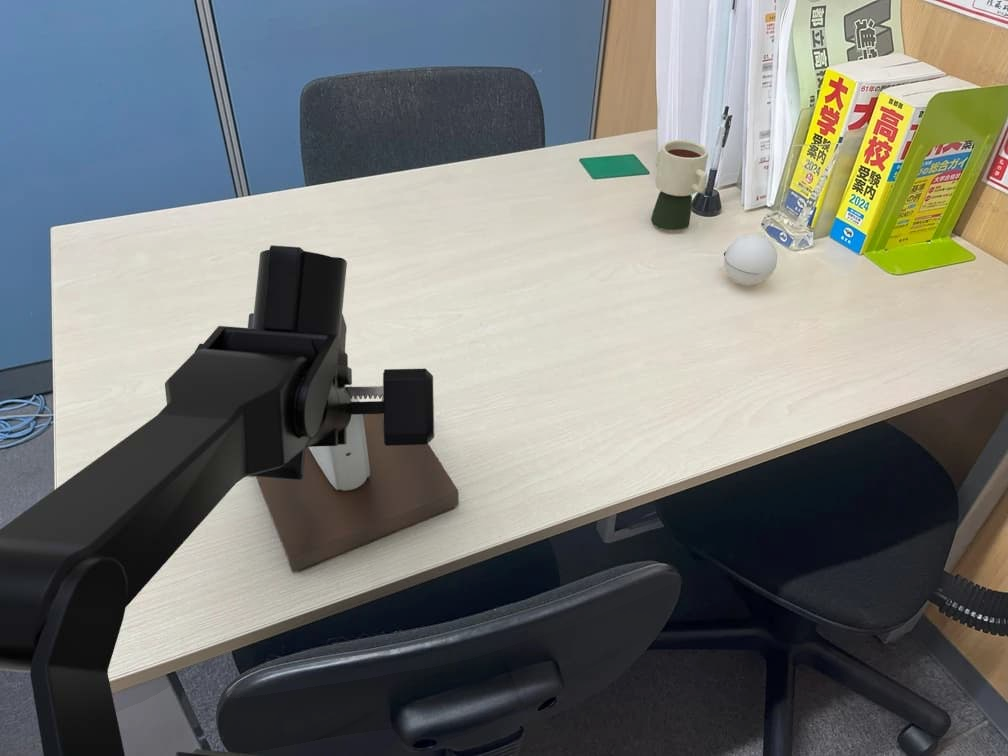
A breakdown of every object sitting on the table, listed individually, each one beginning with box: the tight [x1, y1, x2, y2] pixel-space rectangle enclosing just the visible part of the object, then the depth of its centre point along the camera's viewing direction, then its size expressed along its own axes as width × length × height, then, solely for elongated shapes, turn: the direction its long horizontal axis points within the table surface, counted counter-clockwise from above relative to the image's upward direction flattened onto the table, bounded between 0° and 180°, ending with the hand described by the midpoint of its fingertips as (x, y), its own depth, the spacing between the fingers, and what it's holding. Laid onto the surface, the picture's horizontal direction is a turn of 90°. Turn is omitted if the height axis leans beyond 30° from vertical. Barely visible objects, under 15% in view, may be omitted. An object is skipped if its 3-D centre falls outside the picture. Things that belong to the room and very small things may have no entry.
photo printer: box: [308, 385, 370, 491], centre depth 69 cm, size 10×4×12 cm, turn 33°
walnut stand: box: [255, 414, 460, 573], centre depth 73 cm, size 17×15×2 cm
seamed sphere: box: [719, 233, 778, 287], centre depth 102 cm, size 10×7×7 cm
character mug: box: [650, 139, 709, 231], centre depth 113 cm, size 11×7×13 cm, turn 31°
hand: (335, 411), depth 66 cm, fingers open, 9 cm apart
